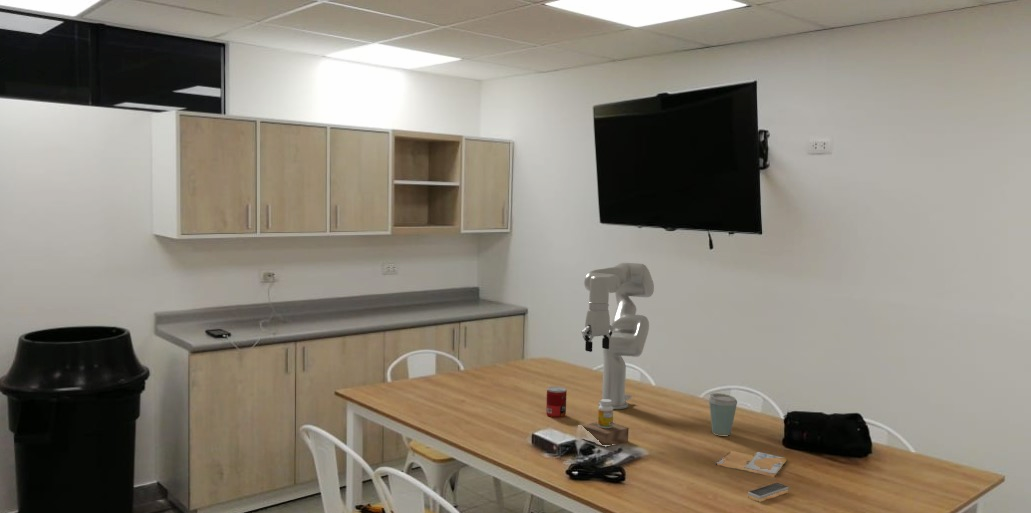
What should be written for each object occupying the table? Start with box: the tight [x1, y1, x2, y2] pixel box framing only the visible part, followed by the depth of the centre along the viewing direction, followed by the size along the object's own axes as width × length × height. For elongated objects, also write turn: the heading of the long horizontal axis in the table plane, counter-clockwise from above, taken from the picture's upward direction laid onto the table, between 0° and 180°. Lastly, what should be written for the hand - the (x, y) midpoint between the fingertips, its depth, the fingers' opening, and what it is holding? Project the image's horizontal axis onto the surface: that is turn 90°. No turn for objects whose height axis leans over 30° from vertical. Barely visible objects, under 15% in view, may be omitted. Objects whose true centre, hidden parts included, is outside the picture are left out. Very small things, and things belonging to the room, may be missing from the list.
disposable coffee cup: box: [708, 392, 738, 435], centre depth 296 cm, size 11×11×15 cm
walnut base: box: [582, 421, 630, 445], centre depth 286 cm, size 12×12×5 cm
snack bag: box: [715, 451, 784, 474], centre depth 265 cm, size 19×20×2 cm
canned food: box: [545, 386, 568, 419], centre depth 316 cm, size 8×8×11 cm
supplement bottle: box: [597, 398, 614, 428], centre depth 285 cm, size 5×5×10 cm
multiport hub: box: [747, 482, 789, 499], centre depth 237 cm, size 4×14×2 cm, turn 126°
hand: (597, 349), depth 309 cm, fingers open, 9 cm apart
